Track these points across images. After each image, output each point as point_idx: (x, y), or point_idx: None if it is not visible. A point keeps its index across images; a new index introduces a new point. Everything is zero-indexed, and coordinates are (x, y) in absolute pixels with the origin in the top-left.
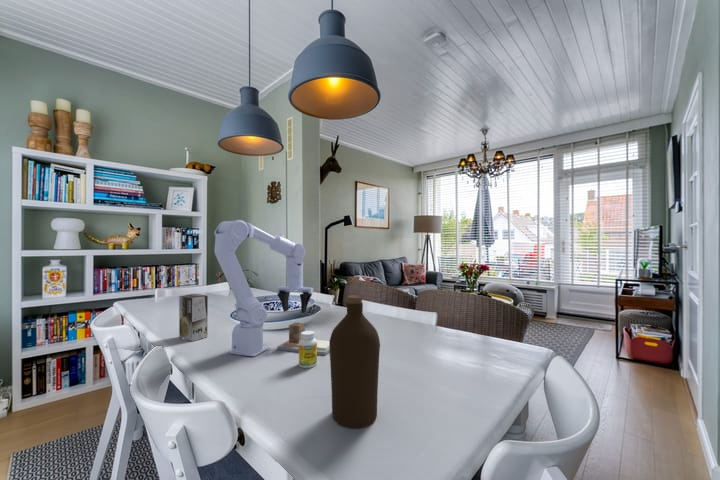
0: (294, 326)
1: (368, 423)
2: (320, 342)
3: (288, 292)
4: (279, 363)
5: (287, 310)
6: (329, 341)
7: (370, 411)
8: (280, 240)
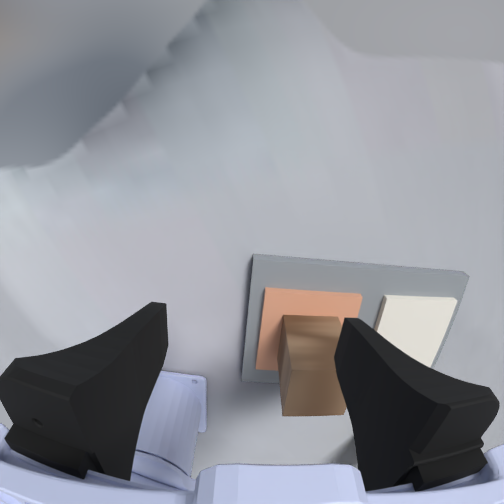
0: (315, 413)
1: None
2: (410, 324)
3: (88, 421)
4: (303, 442)
5: (166, 310)
6: (442, 303)
7: None
8: None
